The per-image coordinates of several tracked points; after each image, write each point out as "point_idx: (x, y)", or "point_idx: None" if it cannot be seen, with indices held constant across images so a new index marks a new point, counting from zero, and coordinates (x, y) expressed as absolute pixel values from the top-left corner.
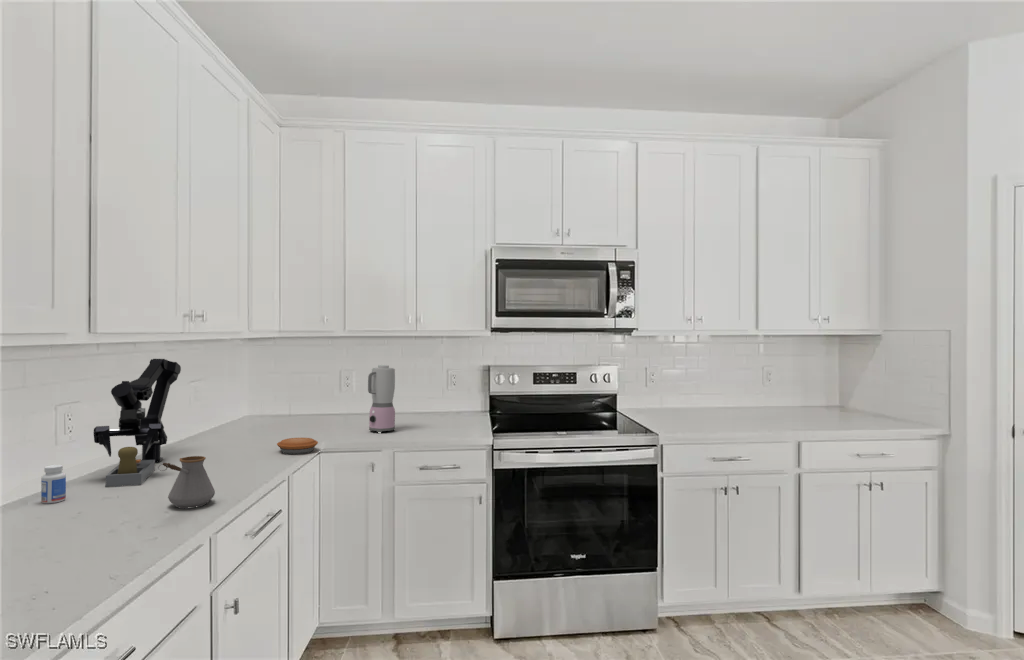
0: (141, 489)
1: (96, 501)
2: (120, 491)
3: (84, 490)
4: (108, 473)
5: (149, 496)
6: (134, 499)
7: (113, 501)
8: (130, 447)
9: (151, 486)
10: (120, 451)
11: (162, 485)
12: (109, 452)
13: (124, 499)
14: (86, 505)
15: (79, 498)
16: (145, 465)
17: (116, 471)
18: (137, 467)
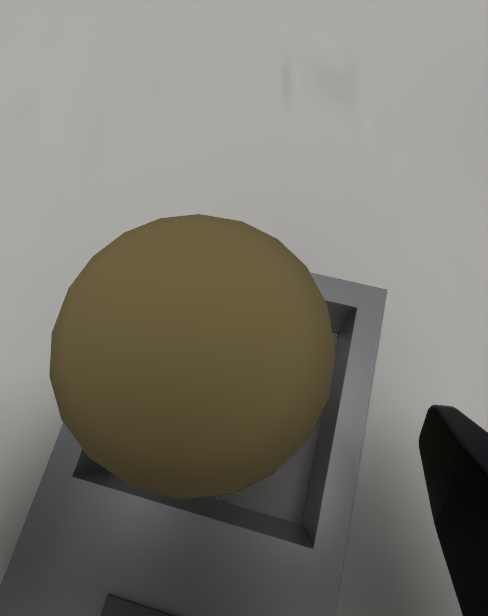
0: (171, 166)
1: (378, 46)
2: (275, 174)
3: (477, 294)
4: (372, 362)
5: (157, 30)
6: (221, 13)
7: (306, 18)
8: (144, 287)
9: (113, 207)
10: (304, 266)
11: (56, 202)
12: (470, 424)
13: (261, 28)
14: (411, 7)
15: (467, 128)
16: (39, 588)
17: (310, 541)
18: (125, 515)
